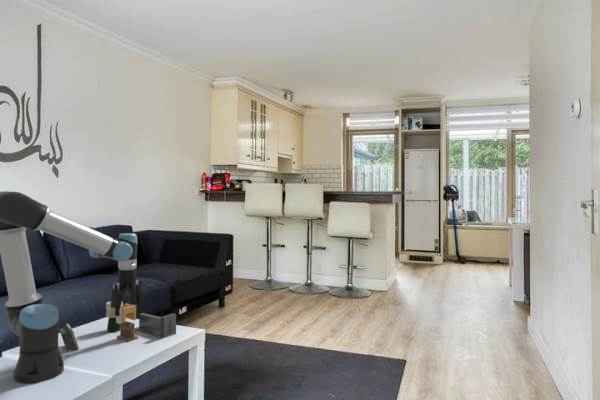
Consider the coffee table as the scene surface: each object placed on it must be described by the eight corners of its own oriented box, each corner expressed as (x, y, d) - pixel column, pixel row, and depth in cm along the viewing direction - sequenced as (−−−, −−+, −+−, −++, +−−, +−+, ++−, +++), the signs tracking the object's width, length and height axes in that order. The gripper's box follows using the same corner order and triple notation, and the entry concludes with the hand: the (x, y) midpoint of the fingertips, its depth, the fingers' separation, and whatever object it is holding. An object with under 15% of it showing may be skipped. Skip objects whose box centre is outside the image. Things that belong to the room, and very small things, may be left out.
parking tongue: (128, 341, 184) (128, 325, 183) (116, 338, 188) (116, 322, 188) (138, 338, 188) (138, 322, 188) (126, 335, 192) (126, 319, 192)
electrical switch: (79, 349, 174) (76, 327, 174) (65, 353, 171) (62, 331, 170) (74, 343, 182) (72, 322, 181) (61, 347, 178) (58, 325, 178)
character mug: (112, 326, 205) (112, 299, 205) (127, 326, 204) (127, 299, 204) (100, 333, 194) (100, 305, 194) (116, 334, 193) (116, 305, 193)
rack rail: (163, 338, 189) (163, 317, 188) (134, 330, 199) (134, 311, 199) (176, 333, 194) (176, 314, 194) (147, 326, 205) (147, 307, 205)
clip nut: (123, 322, 183) (123, 305, 183) (116, 320, 186) (116, 304, 186) (135, 319, 189) (136, 303, 189) (128, 317, 191) (129, 301, 191)
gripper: (112, 272, 177) (111, 328, 177) (151, 267, 194) (149, 317, 193) (101, 270, 181) (100, 324, 181) (140, 265, 198) (139, 315, 197)
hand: (126, 321), depth 187 cm, fingers closed on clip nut, 6 cm apart
